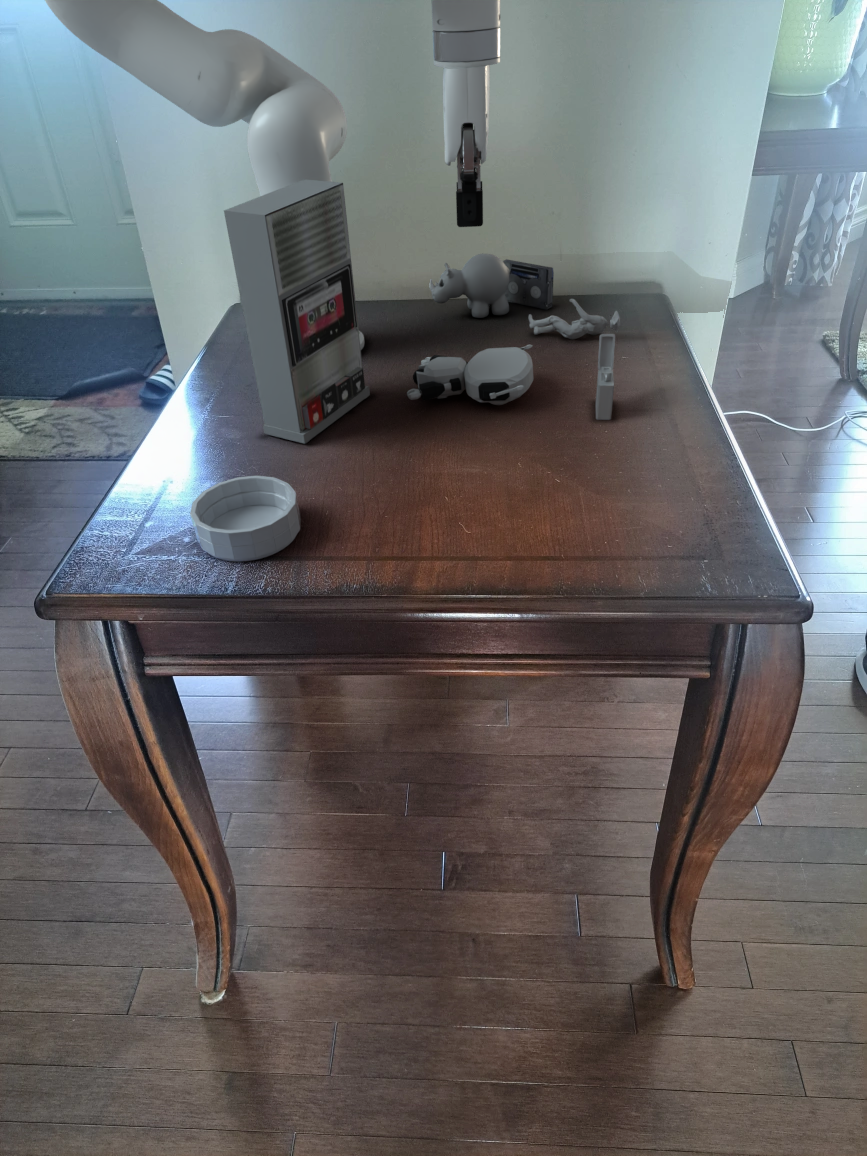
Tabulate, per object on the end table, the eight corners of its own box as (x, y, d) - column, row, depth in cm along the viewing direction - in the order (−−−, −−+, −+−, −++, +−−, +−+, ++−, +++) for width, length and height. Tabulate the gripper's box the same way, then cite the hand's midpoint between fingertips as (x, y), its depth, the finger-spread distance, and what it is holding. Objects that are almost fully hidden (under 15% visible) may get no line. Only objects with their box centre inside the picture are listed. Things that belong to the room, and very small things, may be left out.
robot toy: (406, 420, 101) (530, 416, 97) (400, 386, 98) (527, 380, 95) (424, 377, 110) (538, 372, 107) (420, 345, 107) (536, 339, 104)
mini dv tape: (552, 306, 126) (553, 266, 122) (546, 310, 125) (548, 269, 121) (507, 297, 130) (507, 258, 127) (502, 300, 129) (502, 260, 126)
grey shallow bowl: (177, 539, 81) (169, 509, 79) (254, 494, 87) (248, 465, 85) (245, 576, 76) (237, 545, 74) (322, 525, 82) (317, 495, 80)
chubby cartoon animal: (427, 308, 128) (424, 252, 123) (504, 301, 129) (504, 245, 124) (433, 325, 122) (430, 267, 117) (513, 318, 123) (514, 259, 118)
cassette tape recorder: (307, 446, 95) (270, 216, 80) (265, 435, 97) (221, 210, 82) (371, 397, 104) (350, 182, 89) (332, 388, 107) (304, 179, 91)
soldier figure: (538, 331, 121) (620, 307, 117) (543, 362, 120) (626, 339, 116) (524, 308, 114) (610, 282, 110) (529, 341, 113) (616, 315, 109)
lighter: (611, 419, 97) (617, 354, 92) (595, 419, 97) (601, 354, 92) (609, 393, 102) (615, 330, 97) (595, 392, 102) (599, 329, 97)
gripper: (435, 42, 99) (441, 204, 111) (430, 59, 86) (438, 241, 97) (498, 38, 99) (498, 202, 110) (502, 55, 86) (502, 239, 97)
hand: (470, 219), depth 104 cm, fingers open, 3 cm apart
